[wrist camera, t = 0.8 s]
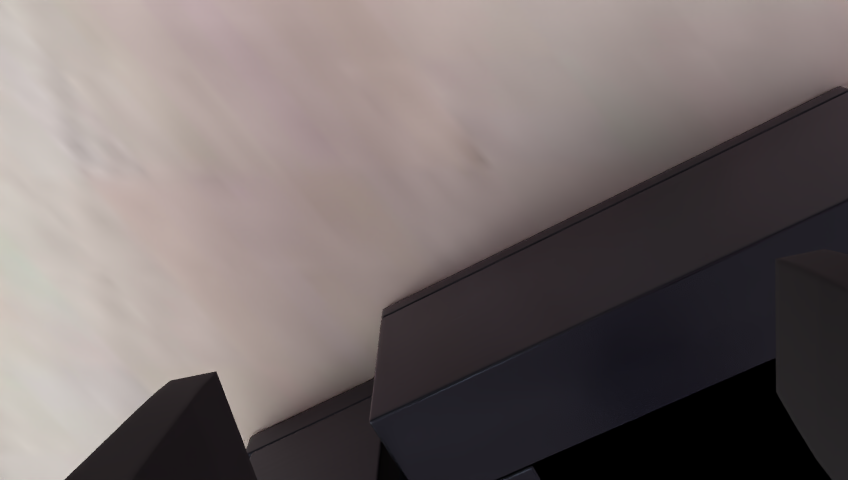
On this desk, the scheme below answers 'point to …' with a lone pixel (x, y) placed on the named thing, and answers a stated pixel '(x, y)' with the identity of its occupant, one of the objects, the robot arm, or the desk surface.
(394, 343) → the toaster
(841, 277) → the robot arm
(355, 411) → the lever bracket
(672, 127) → the desk surface
